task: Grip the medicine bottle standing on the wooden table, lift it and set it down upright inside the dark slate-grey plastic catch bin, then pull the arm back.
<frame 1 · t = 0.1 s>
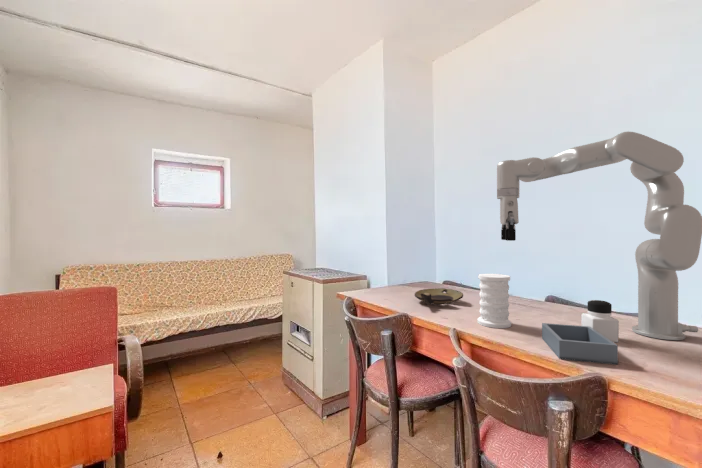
hand: (508, 240, 118), 31 cm above the table, tool pointing down, fingers open, 9 cm apart
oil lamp: (434, 304, 152), on the table
catch bin: (575, 350, 91), on the table
decorative container: (494, 324, 118), on the table
medicine bottle: (599, 339, 101), on the table
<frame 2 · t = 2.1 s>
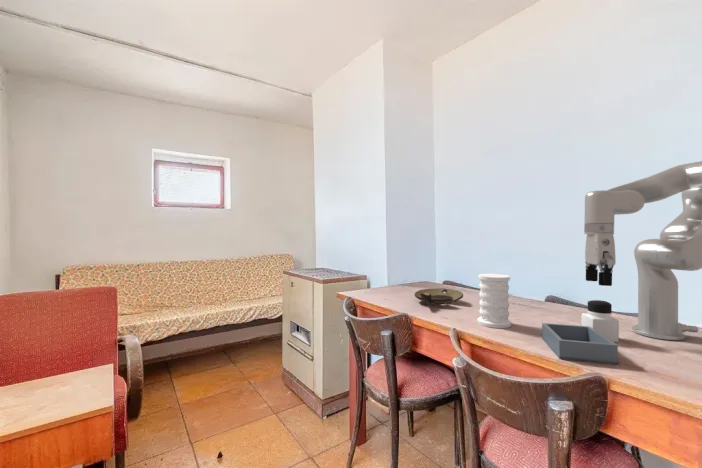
hand: (598, 283, 101), 18 cm above the table, tool pointing down, fingers open, 9 cm apart
nothing on the table moved.
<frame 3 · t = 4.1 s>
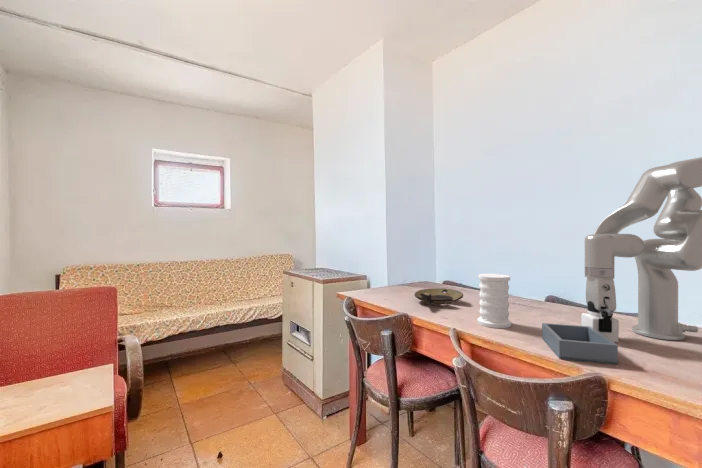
hand: (599, 327, 101), 3 cm above the table, tool pointing down, fingers closed on medicine bottle, 7 cm apart
medicine bottle: (599, 339, 101), on the table, touching gripper
everything else where it was.
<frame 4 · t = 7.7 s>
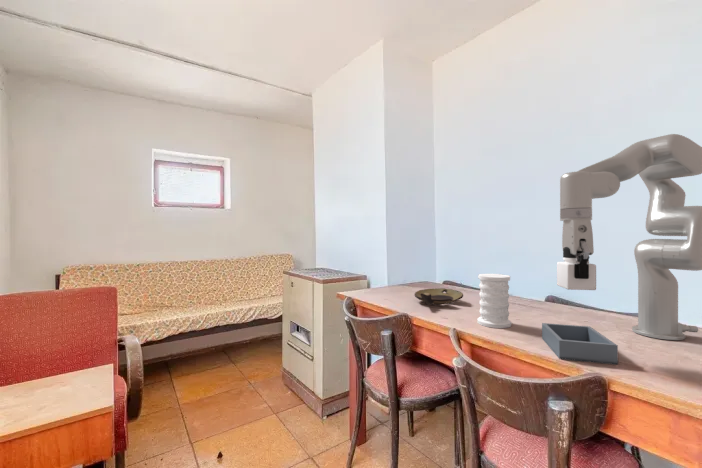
hand: (575, 276, 91), 21 cm above the table, tool pointing down, fingers closed on medicine bottle, 7 cm apart
medicine bottle: (575, 288, 91), point 18 cm above the table, touching gripper
everything else where it was.
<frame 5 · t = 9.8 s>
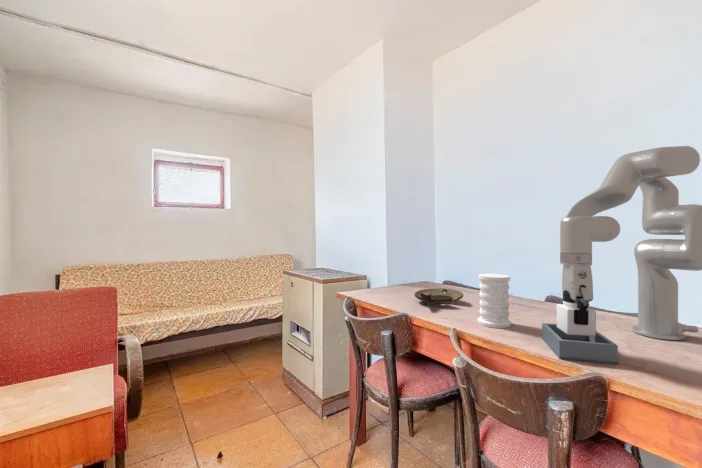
hand: (575, 320, 91), 9 cm above the table, tool pointing down, fingers closed on medicine bottle, 7 cm apart
medicine bottle: (575, 332, 91), point 5 cm above the table, touching gripper
everything else where it was.
when the fingers open (5 cm above the table, at t = 11.6 s): medicine bottle drops 1 cm, resting on catch bin.
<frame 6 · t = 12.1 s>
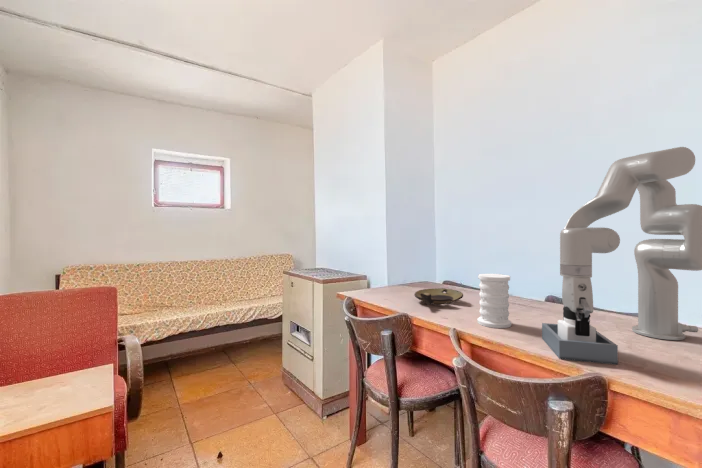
hand: (575, 330, 91), 6 cm above the table, tool pointing down, fingers open, 9 cm apart
medicine bottle: (576, 349, 91), resting on catch bin
everything else where it was.
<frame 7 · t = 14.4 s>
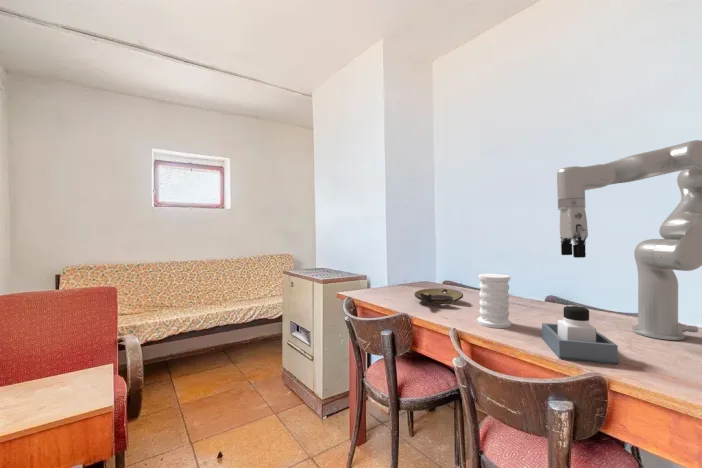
hand: (572, 256, 105), 26 cm above the table, tool pointing down, fingers open, 9 cm apart
nothing on the table moved.
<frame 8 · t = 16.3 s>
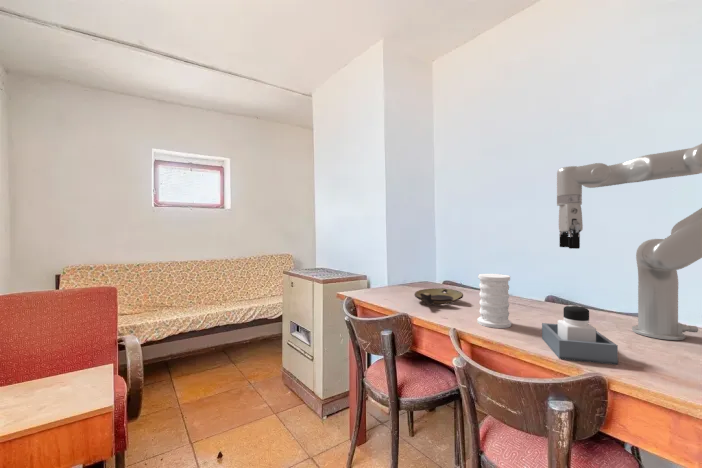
hand: (569, 247, 116), 28 cm above the table, tool pointing down, fingers open, 9 cm apart
nothing on the table moved.
at the end: medicine bottle inside the target area on the catch bin (0.1 cm from its centre), point 0.4 cm above the catch bin's base; medicine bottle tilted 0°; the gripper is holding nothing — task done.
